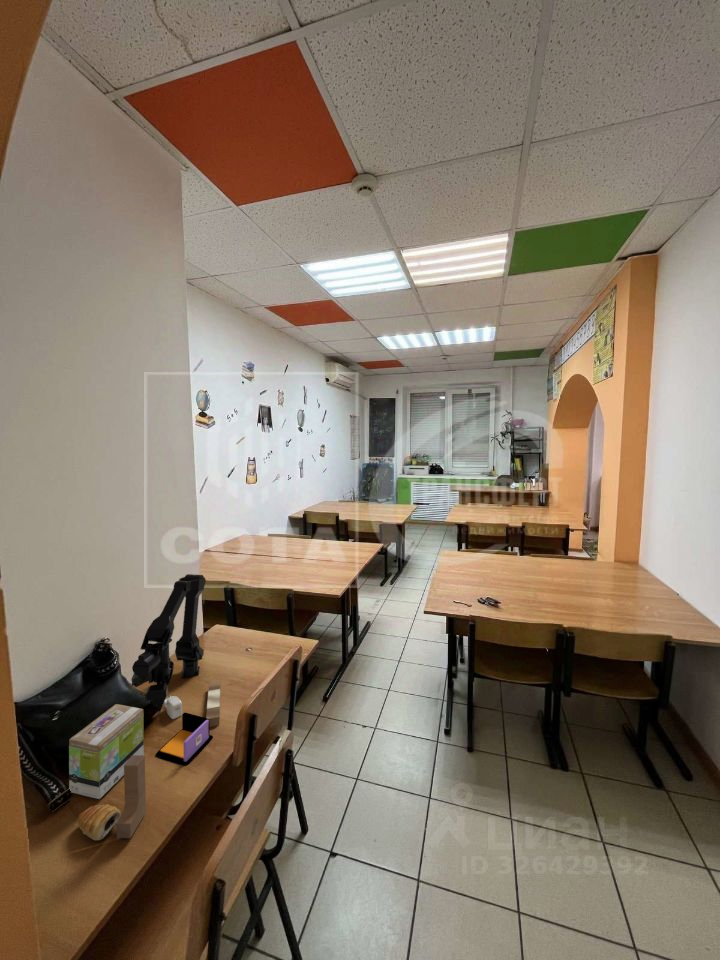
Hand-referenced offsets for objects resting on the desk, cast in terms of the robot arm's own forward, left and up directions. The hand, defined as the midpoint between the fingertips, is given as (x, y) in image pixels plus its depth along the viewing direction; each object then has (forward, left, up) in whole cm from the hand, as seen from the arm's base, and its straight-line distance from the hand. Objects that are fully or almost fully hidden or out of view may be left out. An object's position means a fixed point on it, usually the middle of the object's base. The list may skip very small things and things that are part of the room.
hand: (160, 702), depth 132 cm
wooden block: (+45, 0, -2) cm, 45 cm away
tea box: (+26, -9, -2) cm, 28 cm away
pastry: (+40, -7, -2) cm, 40 cm away
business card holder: (+22, +10, -2) cm, 24 cm away
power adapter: (+4, +4, -2) cm, 6 cm away
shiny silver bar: (+6, +17, -1) cm, 18 cm away
